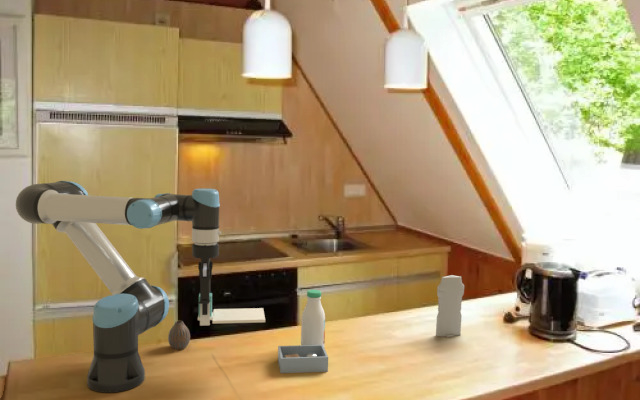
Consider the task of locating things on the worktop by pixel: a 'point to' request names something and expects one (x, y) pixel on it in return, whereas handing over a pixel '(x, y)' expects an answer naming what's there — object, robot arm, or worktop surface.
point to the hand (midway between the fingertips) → (205, 321)
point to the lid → (235, 314)
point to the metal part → (311, 355)
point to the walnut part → (291, 355)
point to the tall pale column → (449, 306)
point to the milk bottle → (313, 320)
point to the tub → (302, 359)
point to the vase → (179, 336)
